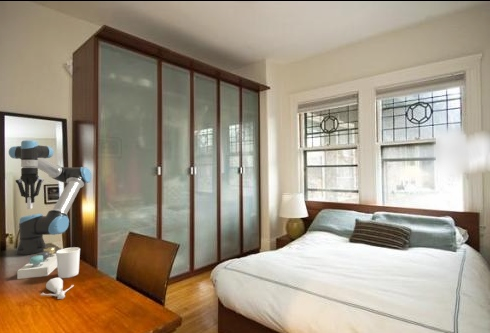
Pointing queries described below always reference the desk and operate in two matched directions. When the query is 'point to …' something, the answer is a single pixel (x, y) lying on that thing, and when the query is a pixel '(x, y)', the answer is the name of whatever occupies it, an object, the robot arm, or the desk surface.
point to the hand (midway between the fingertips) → (30, 208)
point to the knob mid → (44, 255)
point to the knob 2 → (50, 250)
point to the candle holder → (68, 262)
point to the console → (38, 269)
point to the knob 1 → (36, 260)
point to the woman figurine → (56, 288)
